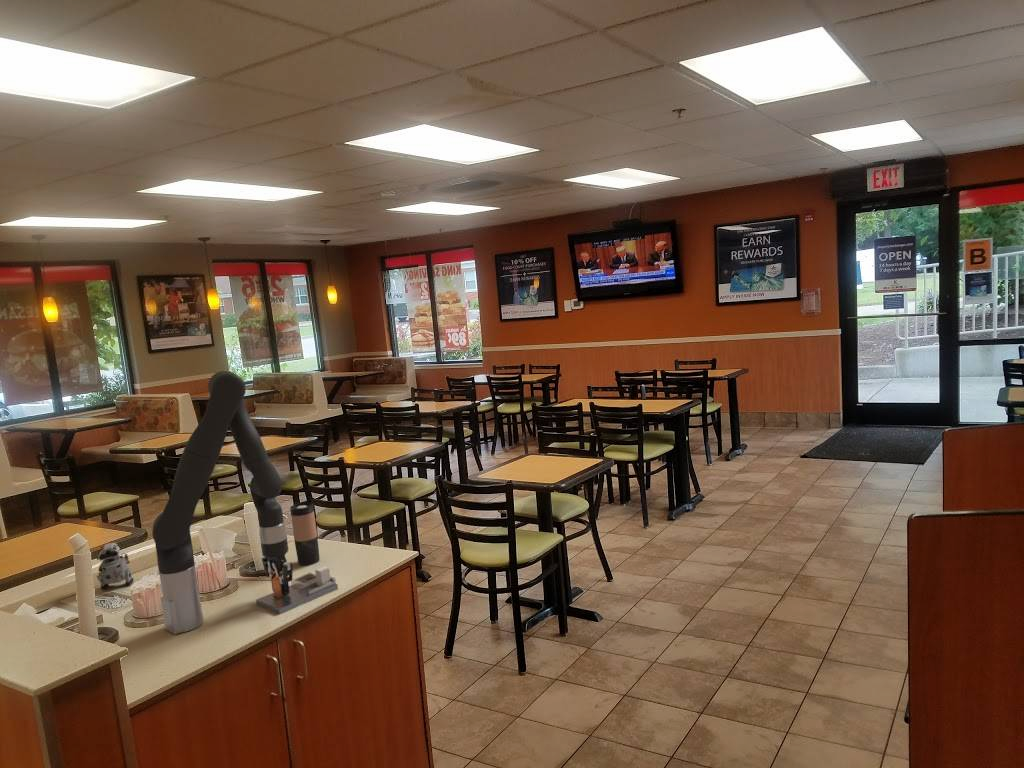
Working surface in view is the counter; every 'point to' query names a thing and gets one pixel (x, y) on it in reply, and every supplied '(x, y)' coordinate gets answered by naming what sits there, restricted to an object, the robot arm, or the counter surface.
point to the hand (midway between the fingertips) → (281, 592)
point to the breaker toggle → (322, 575)
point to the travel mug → (305, 533)
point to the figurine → (113, 566)
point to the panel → (297, 594)
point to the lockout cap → (277, 586)
